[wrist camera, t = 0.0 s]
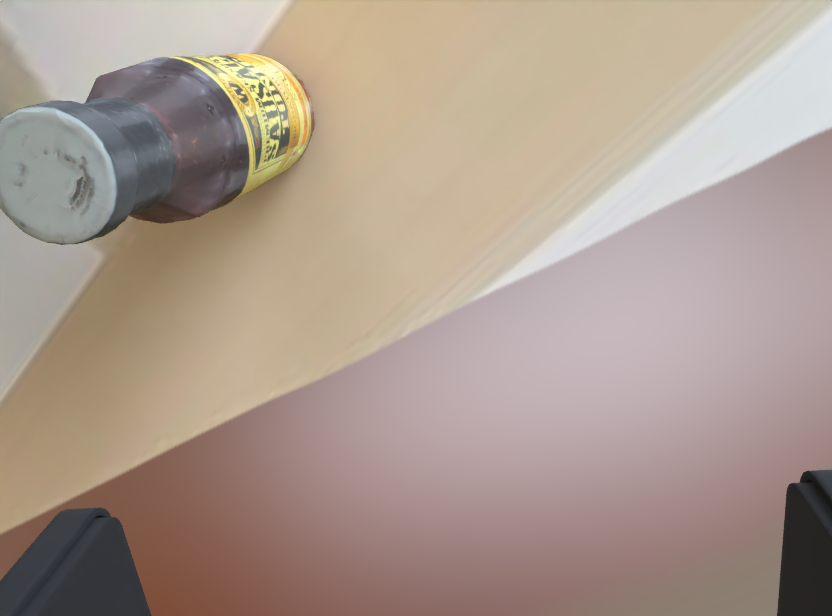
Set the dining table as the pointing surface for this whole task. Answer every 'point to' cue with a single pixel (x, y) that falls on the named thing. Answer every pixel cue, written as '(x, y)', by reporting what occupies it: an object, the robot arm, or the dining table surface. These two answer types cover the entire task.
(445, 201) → the dining table surface
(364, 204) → the dining table surface
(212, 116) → the sauce bottle
